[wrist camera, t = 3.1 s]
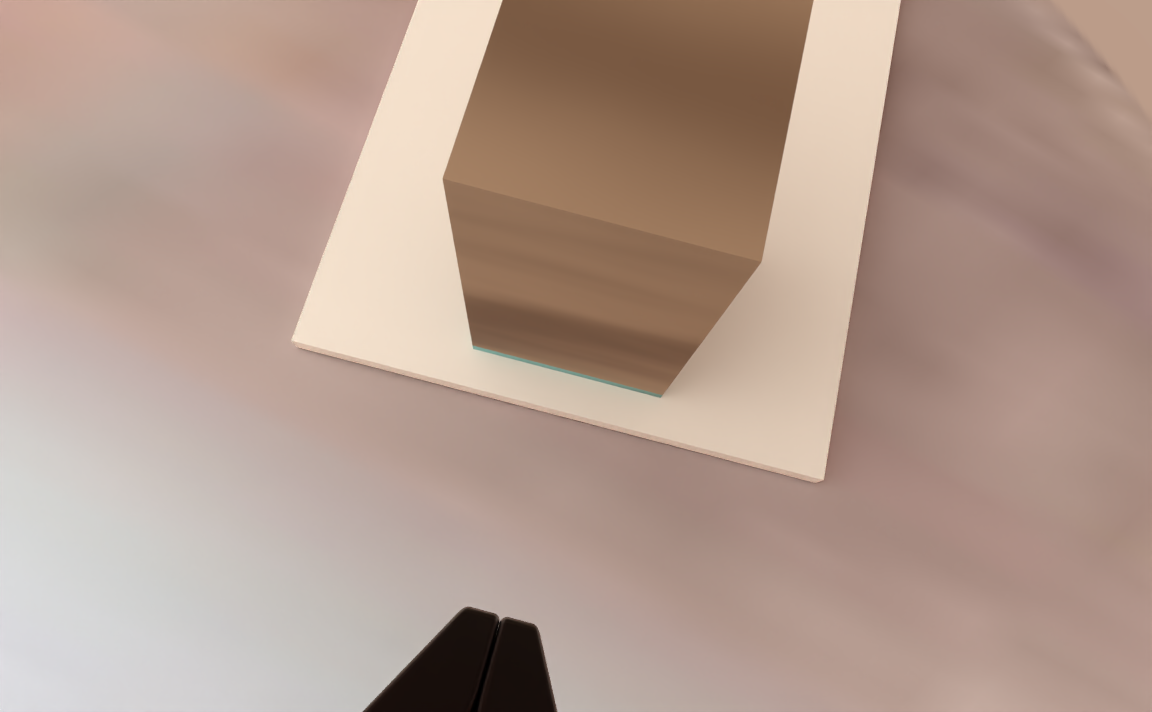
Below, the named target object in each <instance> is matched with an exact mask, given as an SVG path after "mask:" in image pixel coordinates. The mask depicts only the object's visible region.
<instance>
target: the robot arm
mask: <svg viewBox="0 0 1152 712" xmlns="http://www.w3.org/2000/svg"><path fill="white" fill-rule="evenodd" d="M498 626H499V627H498ZM497 629H498V630H497ZM496 633H497V634H496ZM363 712H557V708H556V704H555V699H554V695H553V690H552V686H551V682H550V677H549V673H548V668H547V664H546V659H545V655H544V650H543V646H542V641H541V637H540V633H539V630H538V628H537V626H536V625H534V624H532V623H528V622H524V621H521V620H517V619H513V618H509V617H505V618H503V619H502V620H501V621H500V623H499V617H498V616H497V615H496V614H494V613H491V612H487V611H483V610H480V609H476V608H472V607H465V608H463V609H462V610H460V611H459V612H458V613H457V614H456V615H455V616H454V617H453V618H452V619H451V621H450V622H449V623H448V624H447V625H446V626H445V627H444V628H443V629H442V630H441V631H440V632H439V633H438V634H437V635H436V636H435V637H434V638H433V639H432V640H431V641H430V642H429V643H428V644H427V645H426V646H425V647H424V648H423V650H422V651H421V652H420V653H419V654H418V655H417V656H416V657H415V658H414V659H413V660H412V661H411V662H410V663H409V664H408V665H407V666H406V667H405V668H404V669H403V670H402V671H401V672H400V673H399V674H398V675H397V676H396V678H395V679H394V680H393V681H392V682H391V683H390V684H389V685H388V686H387V687H386V688H385V689H384V690H383V691H382V692H381V693H380V694H379V695H378V696H377V697H376V698H375V699H374V700H373V701H372V702H371V703H370V704H369V706H368V707H367V708H366V709H365V710H364V711H363Z"/></svg>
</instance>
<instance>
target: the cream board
mask: <svg viewBox="0 0 1152 712" xmlns="http://www.w3.org/2000/svg"><path fill="white" fill-rule="evenodd" d="M900 2H901V0H814V1H813V6H812V11H811V16H810V21H809V26H808V31H807V36H806V41H805V46H804V51H803V56H802V61H801V66H800V71H799V76H798V82H797V87H796V92H795V97H794V102H793V107H792V112H791V117H790V122H789V127H788V132H787V137H786V142H785V147H784V152H783V157H782V162H781V167H780V172H779V177H778V182H777V187H776V192H775V197H774V202H773V207H772V212H771V217H770V222H769V227H768V232H767V237H766V242H765V247H764V252H763V257H762V262H761V264H760V265H759V266H758V268H757V269H756V270H755V272H754V273H753V274H752V276H751V277H750V278H749V280H748V281H747V282H746V284H745V285H744V286H743V288H742V289H741V290H740V292H739V293H738V294H737V296H736V297H735V299H734V300H733V301H732V303H731V304H730V305H729V307H728V308H727V309H726V311H725V312H724V313H723V315H722V316H721V317H720V319H719V320H718V321H717V323H716V324H715V325H714V327H713V328H712V329H711V331H710V332H709V334H708V335H707V336H706V338H705V339H704V340H703V342H702V343H701V344H700V346H699V347H698V348H697V350H696V351H695V352H694V354H693V355H692V356H691V358H690V359H689V360H688V362H687V363H686V364H685V366H684V367H683V369H682V370H681V371H680V373H679V374H678V375H677V377H676V378H675V379H674V381H673V382H672V383H671V385H670V386H669V387H668V389H667V390H666V391H665V393H664V394H663V395H662V397H661V398H659V397H655V396H651V395H647V394H644V393H640V392H636V391H632V390H628V389H625V388H621V387H617V386H613V385H609V384H605V383H602V382H598V381H594V380H590V379H586V378H583V377H579V376H575V375H571V374H567V373H563V372H560V371H556V370H552V369H548V368H544V367H541V366H537V365H533V364H529V363H525V362H521V361H518V360H514V359H510V358H506V357H502V356H499V355H495V354H491V353H487V352H483V351H479V350H476V349H473V346H472V340H471V335H470V329H469V323H468V318H467V312H466V307H465V301H464V296H463V290H462V285H461V279H460V274H459V268H458V262H457V257H456V251H455V246H454V240H453V235H452V229H451V224H450V218H449V213H448V207H447V201H446V196H445V190H444V185H443V179H442V178H443V175H444V172H445V170H446V167H447V164H448V161H449V158H450V155H451V152H452V149H453V146H454V143H455V140H456V137H457V134H458V131H459V128H460V125H461V122H462V119H463V116H464V113H465V110H466V107H467V104H468V101H469V98H470V95H471V92H472V89H473V86H474V83H475V80H476V77H477V74H478V71H479V68H480V66H481V63H482V60H483V57H484V54H485V51H486V48H487V45H488V42H489V39H490V36H491V33H492V30H493V27H494V24H495V21H496V18H497V15H498V12H499V9H500V6H501V3H502V0H418V3H417V5H416V8H415V11H414V13H413V16H412V19H411V21H410V24H409V27H408V29H407V32H406V35H405V37H404V40H403V43H402V45H401V48H400V51H399V53H398V56H397V59H396V61H395V64H394V67H393V69H392V72H391V75H390V77H389V80H388V83H387V86H386V88H385V91H384V94H383V96H382V99H381V102H380V104H379V107H378V110H377V112H376V115H375V118H374V120H373V123H372V126H371V128H370V131H369V134H368V136H367V139H366V142H365V144H364V147H363V150H362V152H361V155H360V158H359V160H358V163H357V166H356V168H355V171H354V174H353V177H352V179H351V182H350V185H349V187H348V190H347V193H346V195H345V198H344V201H343V203H342V206H341V209H340V211H339V214H338V217H337V219H336V222H335V225H334V227H333V230H332V233H331V235H330V238H329V241H328V243H327V246H326V249H325V251H324V254H323V257H322V259H321V262H320V265H319V268H318V270H317V273H316V276H315V278H314V281H313V284H312V286H311V289H310V292H309V294H308V297H307V300H306V302H305V305H304V308H303V310H302V313H301V316H300V318H299V321H298V324H297V326H296V329H295V332H294V334H293V337H292V340H291V341H292V342H293V343H294V344H295V345H296V346H297V347H298V348H302V349H306V350H310V351H313V352H317V353H321V354H325V355H329V356H332V357H336V358H340V359H344V360H348V361H352V362H355V363H359V364H363V365H367V366H371V367H374V368H378V369H382V370H386V371H390V372H394V373H397V374H401V375H405V376H409V377H413V378H416V379H420V380H424V381H428V382H432V383H436V384H439V385H443V386H447V387H451V388H455V389H458V390H462V391H466V392H470V393H474V394H478V395H481V396H485V397H489V398H493V399H497V400H500V401H504V402H508V403H512V404H516V405H520V406H523V407H527V408H531V409H535V410H539V411H542V412H546V413H550V414H554V415H558V416H561V417H565V418H569V419H573V420H577V421H581V422H584V423H588V424H592V425H596V426H600V427H603V428H607V429H611V430H615V431H619V432H623V433H626V434H630V435H634V436H638V437H642V438H645V439H649V440H653V441H657V442H661V443H665V444H668V445H672V446H676V447H680V448H684V449H687V450H691V451H695V452H699V453H703V454H707V455H710V456H714V457H718V458H722V459H726V460H729V461H733V462H737V463H741V464H745V465H748V466H752V467H756V468H760V469H764V470H768V471H771V472H775V473H779V474H783V475H787V476H790V477H794V478H798V479H802V480H806V481H810V482H813V483H817V482H820V481H822V480H824V475H825V469H826V463H827V457H828V450H829V444H830V438H831V432H832V425H833V419H834V413H835V407H836V401H837V394H838V388H839V382H840V376H841V369H842V363H843V357H844V351H845V344H846V338H847V332H848V326H849V320H850V313H851V307H852V301H853V295H854V288H855V282H856V276H857V270H858V264H859V257H860V251H861V245H862V239H863V232H864V226H865V220H866V214H867V207H868V201H869V195H870V189H871V183H872V176H873V170H874V164H875V158H876V151H877V145H878V139H879V133H880V127H881V120H882V114H883V108H884V102H885V95H886V89H887V83H888V77H889V71H890V64H891V58H892V52H893V46H894V39H895V33H896V27H897V21H898V14H899V8H900Z"/></svg>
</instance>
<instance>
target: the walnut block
mask: <svg viewBox="0 0 1152 712" xmlns="http://www.w3.org/2000/svg"><path fill="white" fill-rule="evenodd" d="M813 1H814V0H502V3H501V6H500V9H499V12H498V15H497V18H496V21H495V24H494V27H493V30H492V33H491V36H490V39H489V42H488V45H487V48H486V51H485V54H484V57H483V60H482V63H481V66H480V68H479V71H478V74H477V77H476V80H475V83H474V86H473V89H472V92H471V95H470V98H469V101H468V104H467V107H466V110H465V113H464V116H463V119H462V122H461V125H460V128H459V131H458V134H457V137H456V140H455V143H454V146H453V149H452V152H451V155H450V158H449V161H448V164H447V167H446V170H445V172H444V175H443V178H442V179H443V185H444V190H445V196H446V201H447V207H448V213H449V218H450V224H451V229H452V235H453V240H454V246H455V251H456V257H457V262H458V268H459V274H460V279H461V285H462V290H463V296H464V301H465V307H466V312H467V318H468V323H469V329H470V335H471V340H472V346H473V349H476V350H479V351H483V352H487V353H491V354H495V355H499V356H502V357H506V358H510V359H514V360H518V361H521V362H525V363H529V364H533V365H537V366H541V367H544V368H548V369H552V370H556V371H560V372H563V373H567V374H571V375H575V376H579V377H583V378H586V379H590V380H594V381H598V382H602V383H605V384H609V385H613V386H617V387H621V388H625V389H628V390H632V391H636V392H640V393H644V394H647V395H651V396H655V397H659V398H661V397H662V395H663V394H664V393H665V391H666V390H667V389H668V387H669V386H670V385H671V383H672V382H673V381H674V379H675V378H676V377H677V375H678V374H679V373H680V371H681V370H682V369H683V367H684V366H685V364H686V363H687V362H688V360H689V359H690V358H691V356H692V355H693V354H694V352H695V351H696V350H697V348H698V347H699V346H700V344H701V343H702V342H703V340H704V339H705V338H706V336H707V335H708V334H709V332H710V331H711V329H712V328H713V327H714V325H715V324H716V323H717V321H718V320H719V319H720V317H721V316H722V315H723V313H724V312H725V311H726V309H727V308H728V307H729V305H730V304H731V303H732V301H733V300H734V299H735V297H736V296H737V294H738V293H739V292H740V290H741V289H742V288H743V286H744V285H745V284H746V282H747V281H748V280H749V278H750V277H751V276H752V274H753V273H754V272H755V270H756V269H757V268H758V266H759V265H760V264H761V262H762V257H763V252H764V247H765V242H766V237H767V232H768V227H769V222H770V217H771V212H772V207H773V202H774V197H775V192H776V187H777V182H778V177H779V172H780V167H781V162H782V157H783V152H784V147H785V142H786V137H787V132H788V127H789V122H790V117H791V112H792V107H793V102H794V97H795V92H796V87H797V82H798V76H799V71H800V66H801V61H802V56H803V51H804V46H805V41H806V36H807V31H808V26H809V21H810V16H811V11H812V6H813Z"/></svg>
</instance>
